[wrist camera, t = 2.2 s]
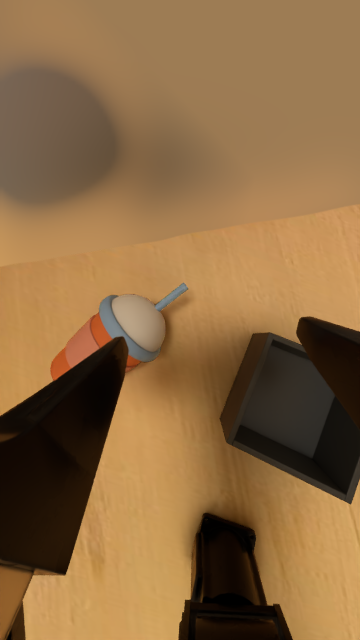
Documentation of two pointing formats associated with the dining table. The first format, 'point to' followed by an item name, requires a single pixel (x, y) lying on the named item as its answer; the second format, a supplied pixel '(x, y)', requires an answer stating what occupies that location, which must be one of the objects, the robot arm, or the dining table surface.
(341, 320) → the dining table surface
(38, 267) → the dining table surface
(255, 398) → the bin
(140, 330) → the cup with straw
